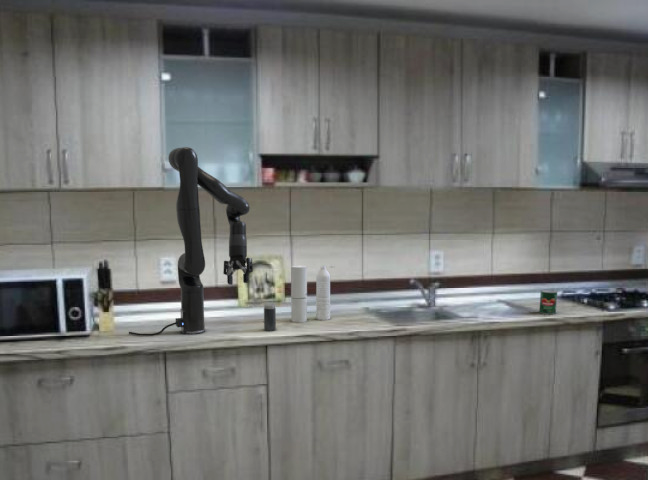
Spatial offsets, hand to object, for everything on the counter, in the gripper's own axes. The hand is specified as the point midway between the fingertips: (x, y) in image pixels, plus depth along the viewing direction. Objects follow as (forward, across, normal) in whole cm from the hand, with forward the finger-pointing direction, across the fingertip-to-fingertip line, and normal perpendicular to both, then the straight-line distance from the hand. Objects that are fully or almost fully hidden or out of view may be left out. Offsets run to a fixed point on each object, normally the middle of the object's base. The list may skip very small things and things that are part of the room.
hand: (237, 283), depth 262 cm
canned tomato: (+12, +100, +116) cm, 154 cm away
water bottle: (+14, +16, +43) cm, 48 cm away
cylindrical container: (+15, +8, +33) cm, 37 cm away
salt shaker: (+20, +8, +11) cm, 24 cm away
